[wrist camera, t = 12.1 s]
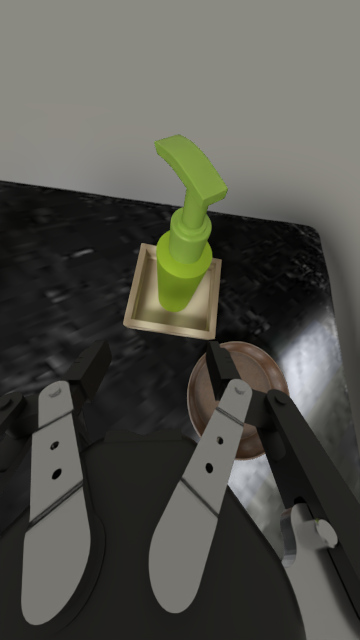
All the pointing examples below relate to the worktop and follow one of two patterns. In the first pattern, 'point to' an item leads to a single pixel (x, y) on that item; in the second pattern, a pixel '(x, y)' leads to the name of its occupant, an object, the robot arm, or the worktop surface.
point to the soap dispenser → (186, 223)
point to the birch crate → (153, 317)
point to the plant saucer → (253, 371)
